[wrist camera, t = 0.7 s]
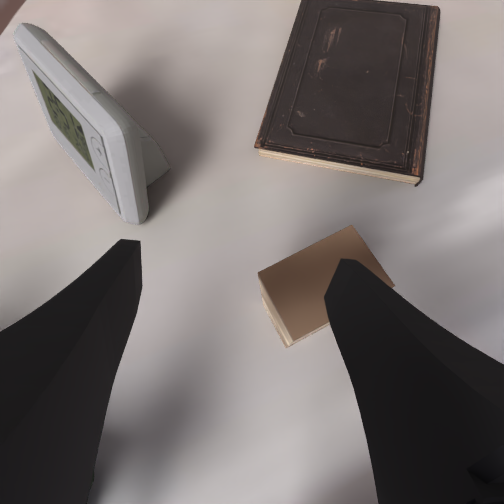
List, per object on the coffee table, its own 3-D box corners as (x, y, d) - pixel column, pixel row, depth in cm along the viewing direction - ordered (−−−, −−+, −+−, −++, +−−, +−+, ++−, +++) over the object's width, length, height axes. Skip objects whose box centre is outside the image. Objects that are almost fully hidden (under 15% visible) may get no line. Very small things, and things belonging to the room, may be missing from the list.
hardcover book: (255, 160, 32) (254, 145, 29) (302, 13, 39) (303, -7, 37) (415, 189, 29) (426, 176, 27) (433, 27, 36) (443, 6, 34)
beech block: (349, 313, 25) (395, 285, 16) (286, 348, 24) (294, 340, 15) (323, 273, 26) (352, 224, 17) (263, 304, 26) (257, 272, 16)
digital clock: (56, 133, 34) (-34, 38, 24) (129, 98, 35) (72, -7, 25) (107, 248, 29) (19, 187, 19) (191, 202, 30) (150, 122, 20)
